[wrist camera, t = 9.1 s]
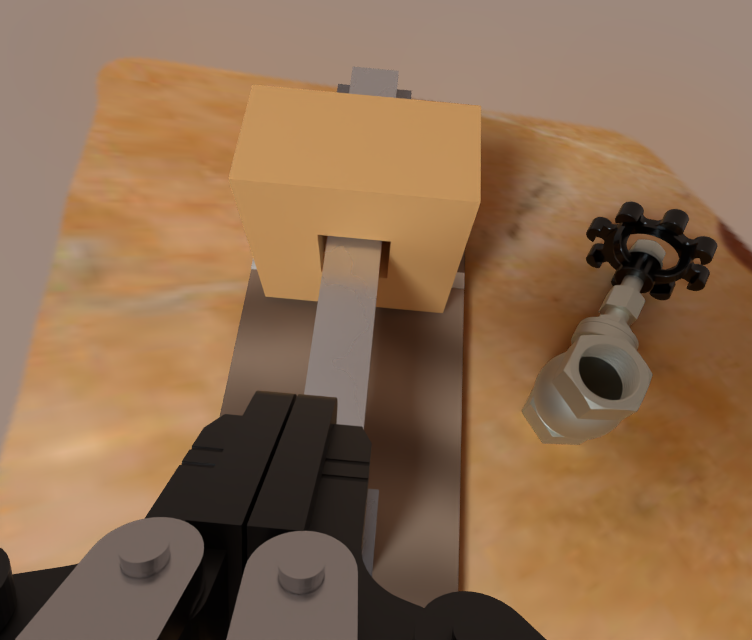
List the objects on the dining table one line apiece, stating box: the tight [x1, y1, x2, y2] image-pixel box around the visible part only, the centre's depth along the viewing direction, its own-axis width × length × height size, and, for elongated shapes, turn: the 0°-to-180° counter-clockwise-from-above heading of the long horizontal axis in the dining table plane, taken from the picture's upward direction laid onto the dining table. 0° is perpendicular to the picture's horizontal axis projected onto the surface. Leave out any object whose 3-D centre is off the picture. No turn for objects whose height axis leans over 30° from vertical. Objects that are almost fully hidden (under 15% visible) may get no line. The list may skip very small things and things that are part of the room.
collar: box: [228, 85, 481, 313], centre depth 26 cm, size 5×10×10 cm, turn 85°
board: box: [220, 250, 465, 608], centre depth 30 cm, size 26×12×1 cm, turn 175°
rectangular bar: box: [304, 67, 411, 576], centre depth 26 cm, size 24×4×7 cm, turn 175°
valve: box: [522, 202, 717, 445], centre depth 27 cm, size 7×7×12 cm
